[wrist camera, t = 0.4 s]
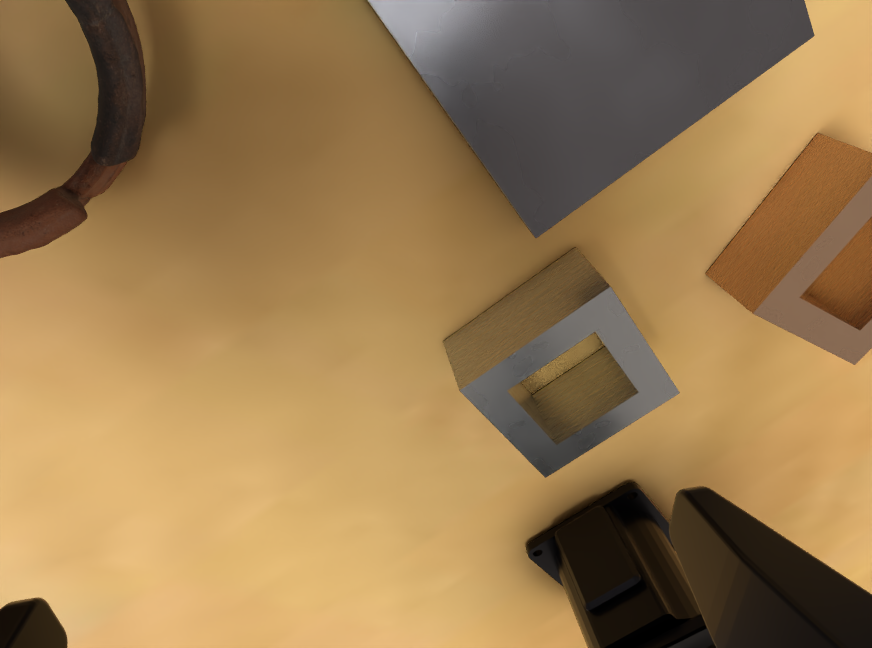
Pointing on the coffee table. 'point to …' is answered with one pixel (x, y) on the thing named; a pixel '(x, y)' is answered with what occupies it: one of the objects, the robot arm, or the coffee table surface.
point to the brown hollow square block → (810, 251)
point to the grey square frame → (543, 342)
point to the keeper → (584, 80)
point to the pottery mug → (113, 137)
